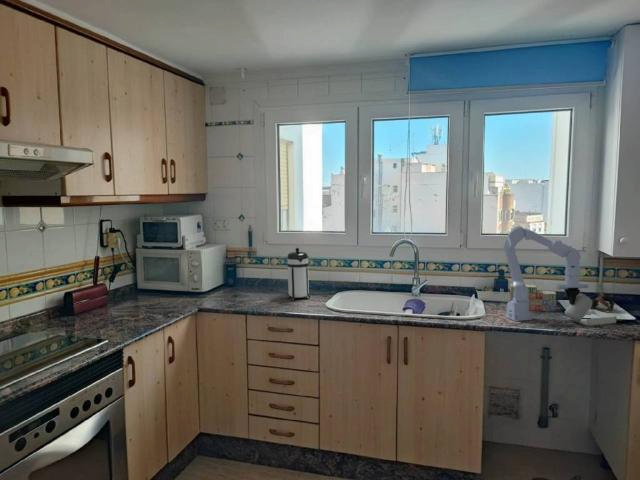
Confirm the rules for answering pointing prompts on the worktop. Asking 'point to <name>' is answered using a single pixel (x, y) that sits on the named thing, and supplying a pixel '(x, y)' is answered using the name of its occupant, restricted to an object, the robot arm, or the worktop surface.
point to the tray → (598, 321)
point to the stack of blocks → (538, 298)
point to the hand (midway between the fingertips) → (571, 304)
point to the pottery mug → (603, 302)
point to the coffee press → (298, 274)
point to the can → (579, 308)
